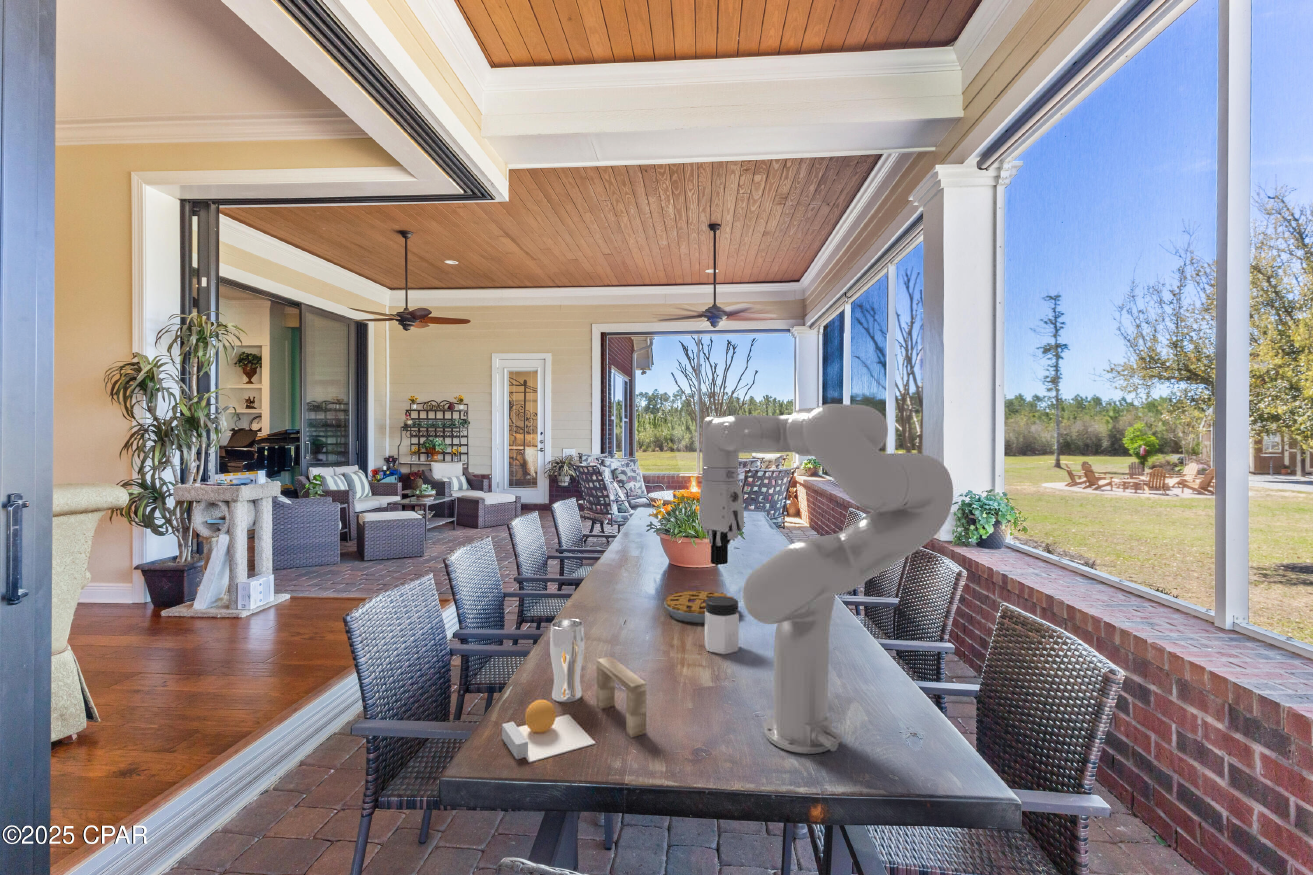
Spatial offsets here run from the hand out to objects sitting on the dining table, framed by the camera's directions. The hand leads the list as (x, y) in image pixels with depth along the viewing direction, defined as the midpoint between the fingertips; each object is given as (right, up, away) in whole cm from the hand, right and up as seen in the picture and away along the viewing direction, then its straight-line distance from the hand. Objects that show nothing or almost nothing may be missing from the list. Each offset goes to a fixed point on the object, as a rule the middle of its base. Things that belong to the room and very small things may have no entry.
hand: (719, 563), depth 128 cm
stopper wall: (-38, -27, -22) cm, 51 cm away
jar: (+3, -27, +26) cm, 37 cm away
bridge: (-20, -27, -11) cm, 36 cm away
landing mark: (-32, -27, -18) cm, 46 cm away
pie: (0, -26, +54) cm, 61 cm away
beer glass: (-31, -27, -2) cm, 42 cm away
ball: (-34, -24, -16) cm, 45 cm away
